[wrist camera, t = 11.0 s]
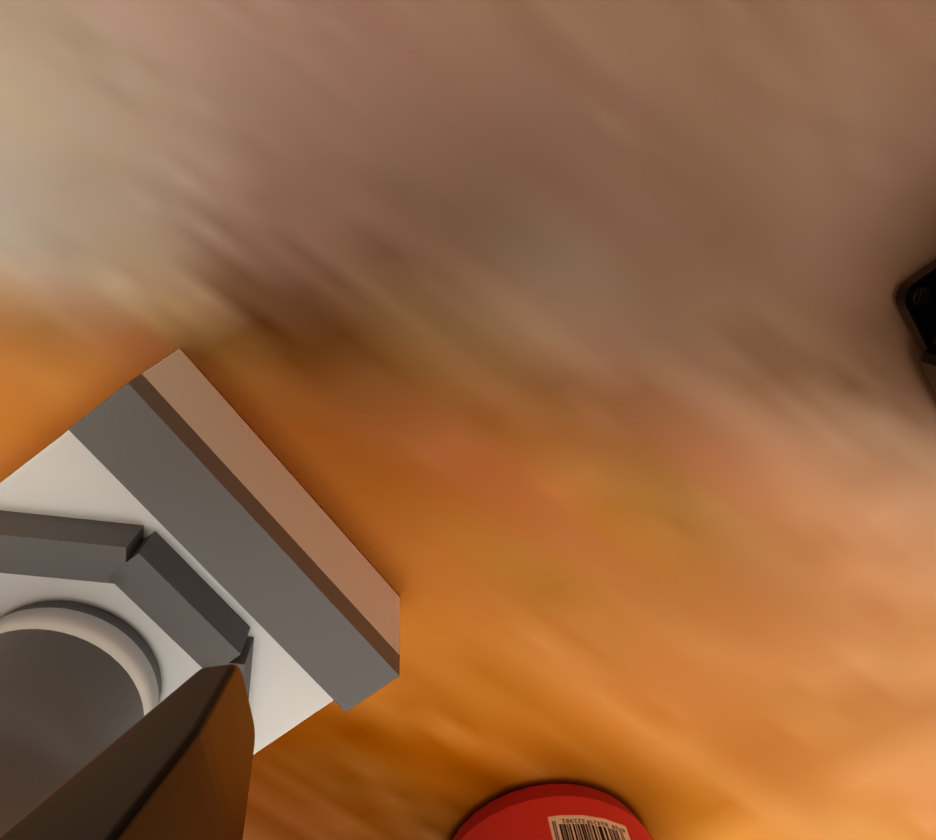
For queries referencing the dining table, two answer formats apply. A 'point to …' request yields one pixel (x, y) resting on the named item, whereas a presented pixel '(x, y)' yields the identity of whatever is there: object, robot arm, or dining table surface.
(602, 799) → the canned food
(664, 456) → the dining table surface
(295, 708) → the square flange plate
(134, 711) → the gray tumbler
